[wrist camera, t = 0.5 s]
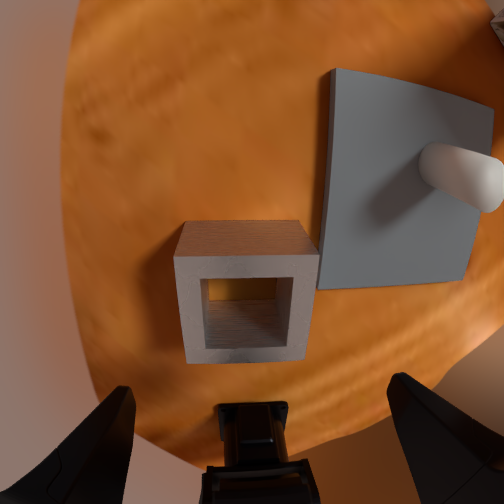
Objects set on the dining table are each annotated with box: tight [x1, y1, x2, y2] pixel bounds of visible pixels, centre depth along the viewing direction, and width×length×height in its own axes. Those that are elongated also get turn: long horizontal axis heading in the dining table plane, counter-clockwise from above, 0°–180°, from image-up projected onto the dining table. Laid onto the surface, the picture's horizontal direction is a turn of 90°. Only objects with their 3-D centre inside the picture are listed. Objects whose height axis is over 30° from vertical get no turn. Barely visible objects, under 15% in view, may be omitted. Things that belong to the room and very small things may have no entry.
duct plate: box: [316, 68, 504, 290], centre depth 16 cm, size 14×13×6 cm
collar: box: [173, 220, 320, 364], centre depth 19 cm, size 7×7×5 cm
